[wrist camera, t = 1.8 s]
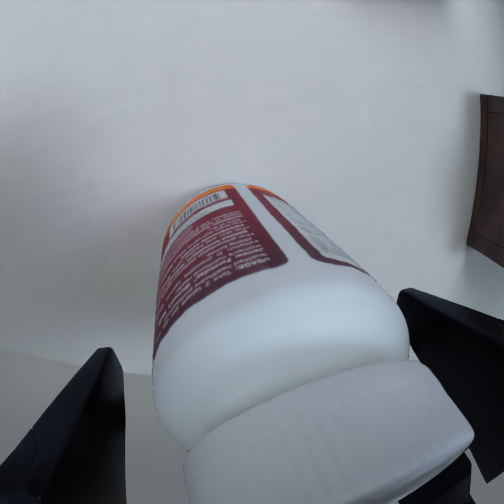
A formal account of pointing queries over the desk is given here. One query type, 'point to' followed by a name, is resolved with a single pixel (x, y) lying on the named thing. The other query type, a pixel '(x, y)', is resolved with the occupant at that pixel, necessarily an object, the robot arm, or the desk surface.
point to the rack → (490, 183)
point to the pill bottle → (288, 364)
